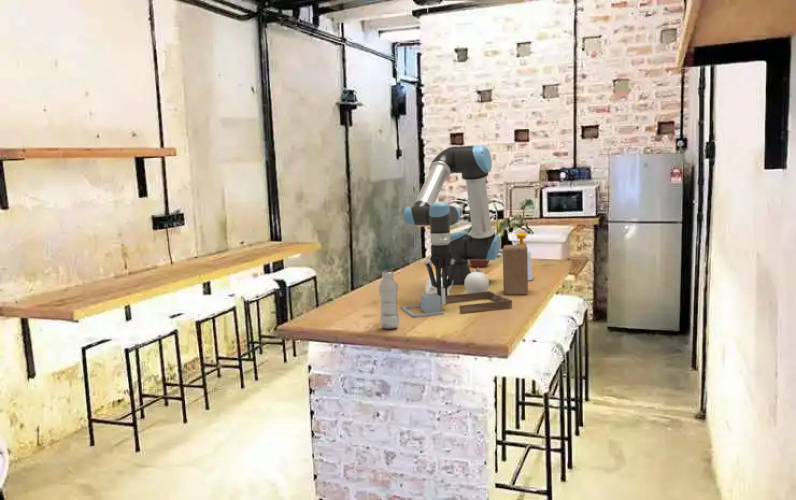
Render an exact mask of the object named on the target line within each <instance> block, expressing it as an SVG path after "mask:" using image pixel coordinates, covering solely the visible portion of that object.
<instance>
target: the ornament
mask: <svg viewBox="0 0 796 500" xmlns="http://www.w3.org/2000/svg"><path fill="white" fill-rule="evenodd" d="M475 268H476V269H475V271H473V272H472V271H471V273H470V274H468V275H467V277H466V278H465V282H464V284H463V285H464V289H465V292H466V293H477V292H486V291H489V287H490V281H489V278H488V276H487V275H486V273H483V272H482V271H481V267H480V268H479V267H475Z"/></svg>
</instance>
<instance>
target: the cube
mask: <svg viewBox="0 0 796 500" xmlns="http://www.w3.org/2000/svg"><path fill="white" fill-rule="evenodd" d="M420 305H421V307H420V311H422V312H424V314H427V313H436V312H442V305H441V299H440V296H439V295H437V294H435V293H434V294H426V293H424V294H420Z"/></svg>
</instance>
